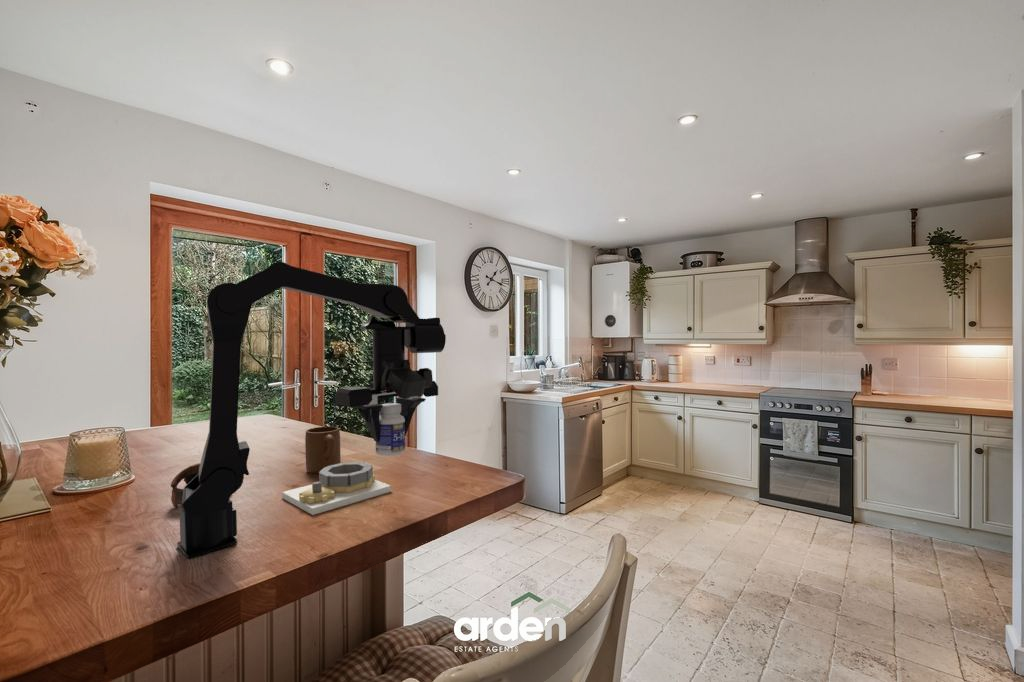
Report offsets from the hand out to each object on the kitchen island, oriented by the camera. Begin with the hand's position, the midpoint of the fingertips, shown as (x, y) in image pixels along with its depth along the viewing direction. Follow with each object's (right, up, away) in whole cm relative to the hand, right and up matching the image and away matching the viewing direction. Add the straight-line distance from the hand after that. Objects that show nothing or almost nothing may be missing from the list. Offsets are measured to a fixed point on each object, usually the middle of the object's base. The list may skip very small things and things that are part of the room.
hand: (390, 438), depth 88 cm
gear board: (-12, -12, +6) cm, 18 cm away
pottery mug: (-38, -13, +4) cm, 40 cm away
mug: (-21, -12, +22) cm, 33 cm away
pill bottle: (0, -3, 0) cm, 3 cm away
